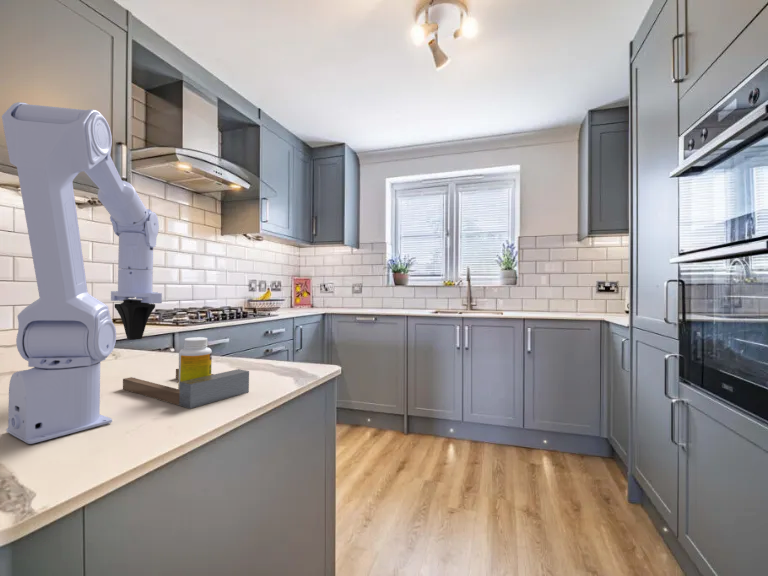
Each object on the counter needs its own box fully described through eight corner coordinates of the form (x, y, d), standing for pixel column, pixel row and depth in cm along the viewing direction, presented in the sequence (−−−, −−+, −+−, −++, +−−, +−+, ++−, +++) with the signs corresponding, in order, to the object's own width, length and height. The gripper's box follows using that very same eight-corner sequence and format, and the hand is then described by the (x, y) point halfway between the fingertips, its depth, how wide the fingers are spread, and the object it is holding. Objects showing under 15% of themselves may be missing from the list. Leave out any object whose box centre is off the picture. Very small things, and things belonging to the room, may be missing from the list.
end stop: (190, 408, 63) (190, 384, 63) (179, 405, 65) (179, 381, 65) (248, 391, 74) (249, 371, 74) (238, 389, 75) (238, 369, 75)
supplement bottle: (214, 393, 72) (215, 339, 72) (182, 398, 69) (183, 341, 68) (206, 387, 76) (207, 335, 76) (175, 391, 73) (176, 337, 73)
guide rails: (179, 405, 65) (179, 393, 65) (122, 389, 74) (122, 378, 74) (238, 389, 75) (238, 379, 75) (182, 376, 84) (182, 367, 84)
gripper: (177, 270, 75) (176, 340, 75) (137, 270, 82) (136, 333, 82) (139, 268, 69) (138, 344, 69) (99, 269, 76) (98, 337, 76)
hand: (134, 339), depth 75 cm, fingers closed
